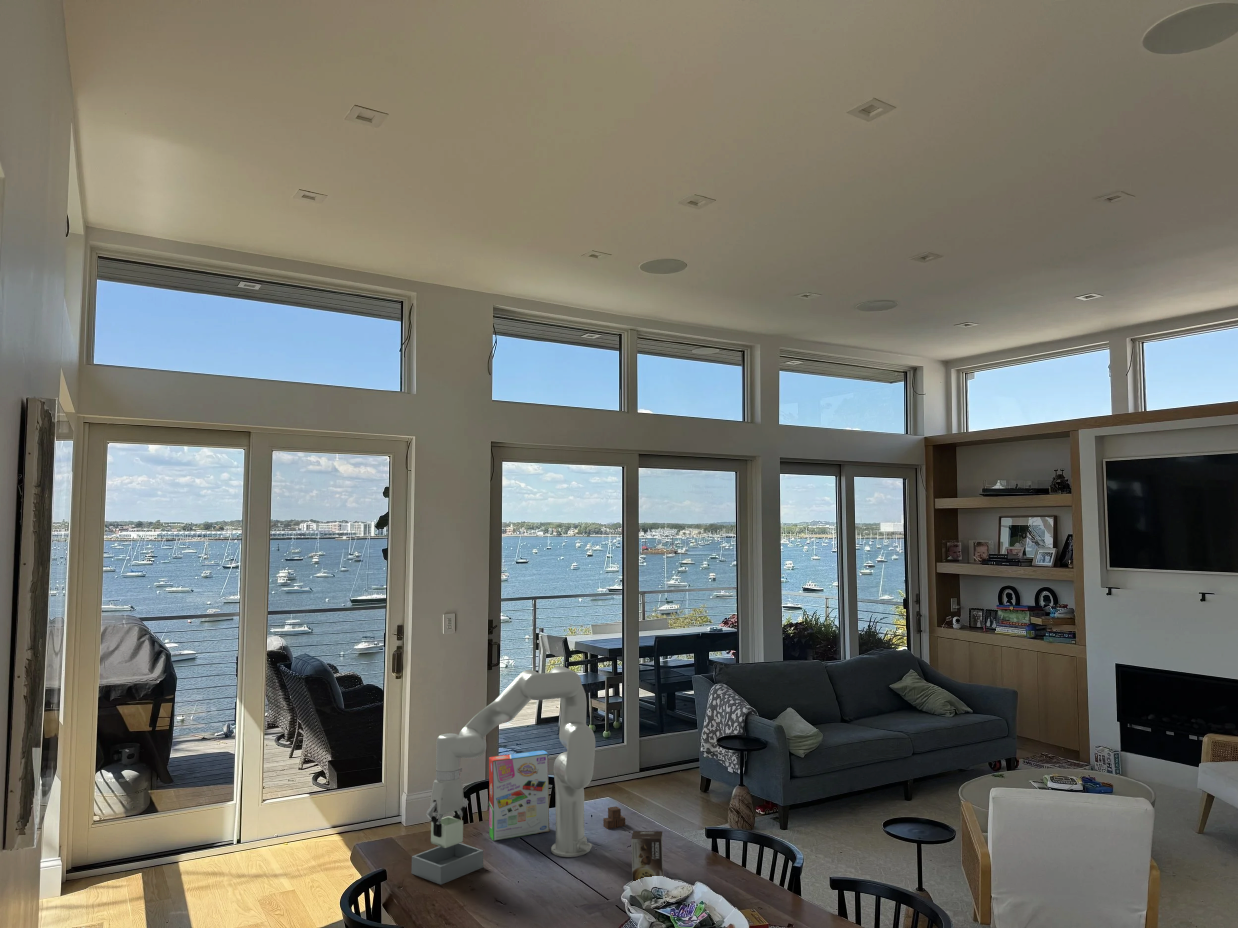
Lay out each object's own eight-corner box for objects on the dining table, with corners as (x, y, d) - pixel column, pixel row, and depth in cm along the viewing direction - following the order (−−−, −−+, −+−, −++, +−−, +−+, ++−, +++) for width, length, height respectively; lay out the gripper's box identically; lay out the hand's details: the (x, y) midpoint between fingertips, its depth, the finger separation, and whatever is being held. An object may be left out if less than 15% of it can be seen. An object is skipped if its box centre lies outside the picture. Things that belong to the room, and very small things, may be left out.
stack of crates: (606, 838, 291) (605, 818, 291) (589, 825, 304) (589, 806, 305) (644, 832, 297) (644, 812, 298) (626, 819, 311) (626, 800, 311)
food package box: (664, 886, 248) (663, 830, 250) (663, 896, 242) (662, 838, 243) (633, 886, 249) (632, 829, 251) (631, 895, 243) (631, 837, 244)
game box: (544, 827, 302) (544, 749, 304) (550, 831, 296) (549, 752, 299) (488, 836, 293) (488, 756, 296) (492, 841, 288) (492, 759, 291)
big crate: (483, 868, 265) (483, 850, 266) (440, 885, 252) (440, 866, 253) (454, 857, 274) (454, 840, 275) (411, 874, 261) (411, 856, 261)
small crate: (462, 841, 264) (463, 820, 265) (445, 847, 259) (445, 826, 260) (448, 836, 269) (448, 815, 269) (430, 842, 263) (431, 821, 264)
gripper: (461, 766, 275) (460, 823, 273) (418, 778, 261) (417, 837, 260) (476, 770, 270) (476, 828, 268) (433, 782, 257) (432, 843, 255)
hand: (447, 832), depth 264 cm, fingers closed on small crate, 7 cm apart
